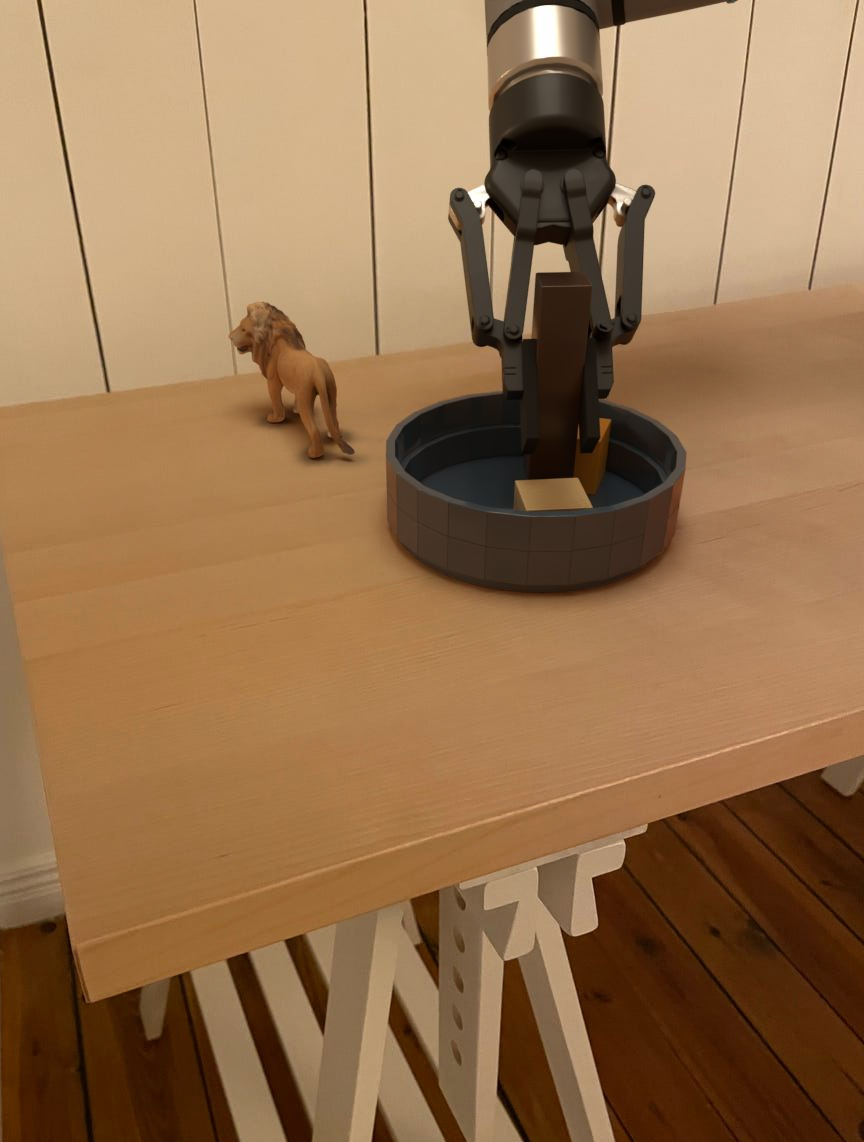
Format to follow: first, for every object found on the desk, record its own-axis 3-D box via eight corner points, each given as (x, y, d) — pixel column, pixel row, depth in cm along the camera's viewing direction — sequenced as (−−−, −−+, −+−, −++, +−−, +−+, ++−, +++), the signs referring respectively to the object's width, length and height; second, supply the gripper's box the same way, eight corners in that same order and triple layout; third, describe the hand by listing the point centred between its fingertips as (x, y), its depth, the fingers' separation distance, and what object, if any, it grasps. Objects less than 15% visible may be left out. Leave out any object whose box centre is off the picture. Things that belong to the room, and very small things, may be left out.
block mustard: (605, 471, 73) (611, 419, 70) (594, 495, 70) (600, 441, 67) (550, 463, 74) (555, 412, 72) (537, 487, 71) (541, 434, 69)
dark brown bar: (566, 465, 69) (584, 271, 62) (572, 485, 67) (592, 285, 59) (522, 466, 69) (535, 272, 62) (527, 486, 67) (541, 286, 59)
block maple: (572, 533, 65) (578, 477, 63) (586, 565, 62) (593, 507, 60) (511, 536, 65) (514, 480, 63) (522, 568, 62) (526, 510, 60)
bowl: (640, 458, 76) (650, 388, 73) (705, 594, 61) (722, 513, 58) (387, 461, 77) (386, 392, 73) (387, 599, 61) (385, 518, 58)
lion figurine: (230, 410, 85) (218, 303, 80) (283, 395, 88) (275, 290, 83) (326, 469, 76) (319, 352, 70) (383, 451, 78) (381, 336, 73)
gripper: (653, 142, 70) (673, 464, 66) (422, 147, 70) (428, 468, 66) (683, 63, 63) (708, 420, 59) (425, 68, 63) (432, 425, 59)
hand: (560, 445), depth 63 cm, fingers closed on dark brown bar, 3 cm apart
